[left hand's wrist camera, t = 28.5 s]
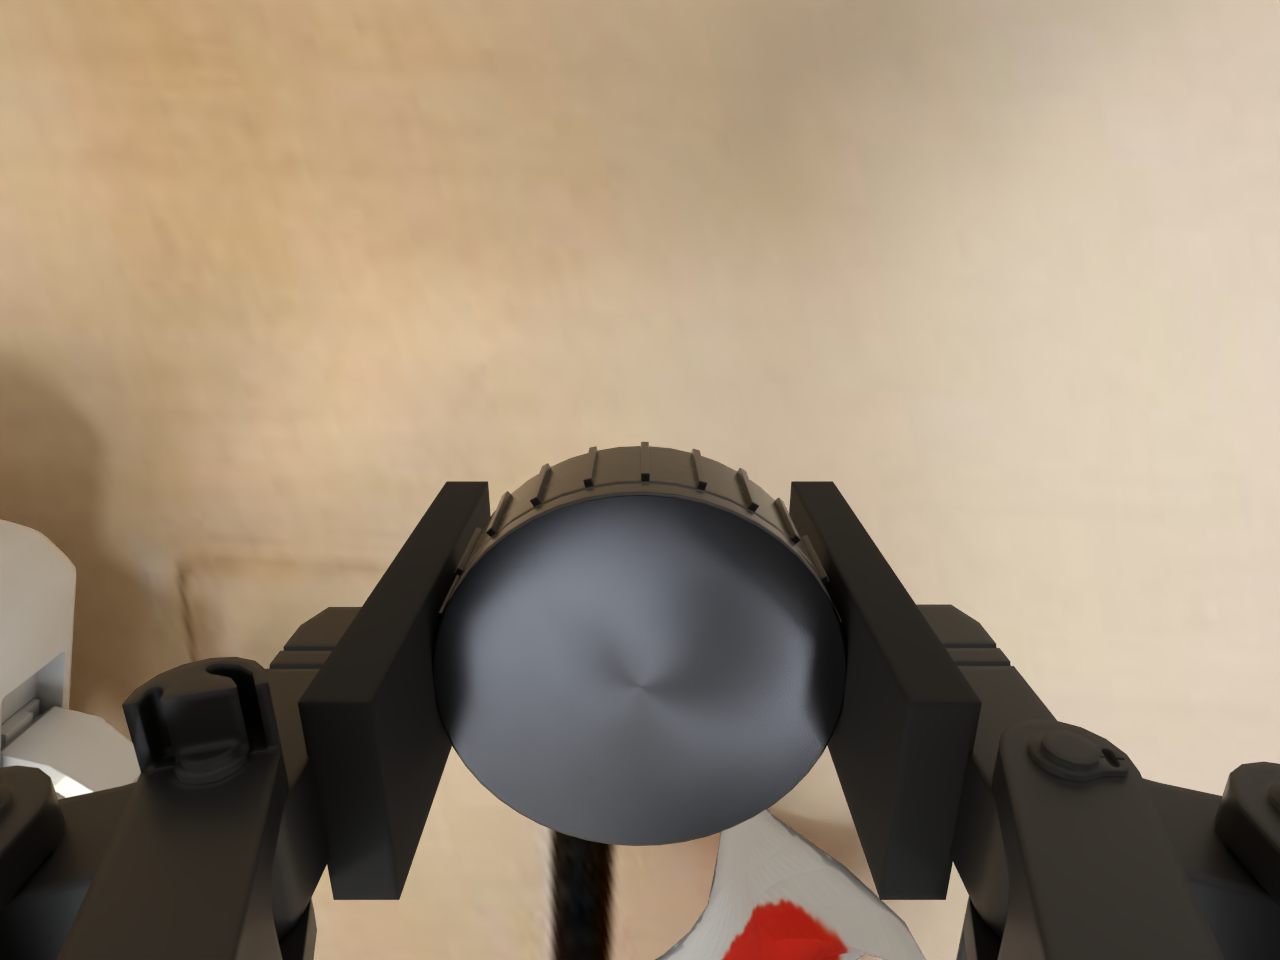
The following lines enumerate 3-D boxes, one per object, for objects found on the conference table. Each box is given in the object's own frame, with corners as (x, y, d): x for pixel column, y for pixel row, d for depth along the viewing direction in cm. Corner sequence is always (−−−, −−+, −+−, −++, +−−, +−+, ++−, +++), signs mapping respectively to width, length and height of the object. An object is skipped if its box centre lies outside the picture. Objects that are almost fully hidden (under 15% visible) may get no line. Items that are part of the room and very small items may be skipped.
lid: (492, 774, 13) (468, 865, 11) (425, 460, 11) (383, 511, 9) (825, 745, 13) (855, 833, 11) (816, 421, 11) (850, 465, 9)
